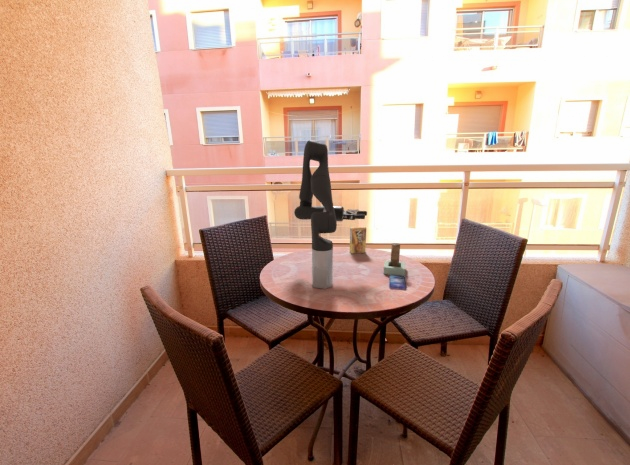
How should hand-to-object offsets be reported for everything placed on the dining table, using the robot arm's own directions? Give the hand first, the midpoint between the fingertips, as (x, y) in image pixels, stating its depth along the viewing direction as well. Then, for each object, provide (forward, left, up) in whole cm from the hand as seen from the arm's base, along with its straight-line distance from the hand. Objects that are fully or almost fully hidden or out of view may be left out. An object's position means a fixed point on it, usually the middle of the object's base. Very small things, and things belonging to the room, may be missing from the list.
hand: (365, 215), depth 143 cm
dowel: (0, -15, -28) cm, 32 cm away
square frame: (0, -15, -28) cm, 32 cm away
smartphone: (-13, -17, -29) cm, 36 cm away
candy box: (+25, +7, -28) cm, 38 cm away
